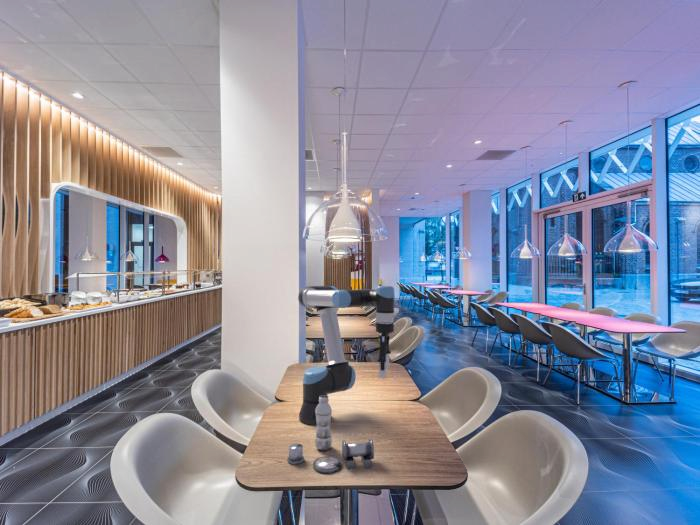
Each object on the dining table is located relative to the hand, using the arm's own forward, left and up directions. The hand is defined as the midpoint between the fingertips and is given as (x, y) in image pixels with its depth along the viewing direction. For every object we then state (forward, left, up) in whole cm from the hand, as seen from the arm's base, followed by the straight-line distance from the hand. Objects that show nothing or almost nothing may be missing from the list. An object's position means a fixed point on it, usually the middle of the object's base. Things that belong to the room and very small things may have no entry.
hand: (384, 373), depth 152 cm
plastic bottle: (-16, -21, -27) cm, 38 cm away
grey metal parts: (-3, -27, -27) cm, 38 cm away
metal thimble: (-19, -34, -27) cm, 47 cm away
